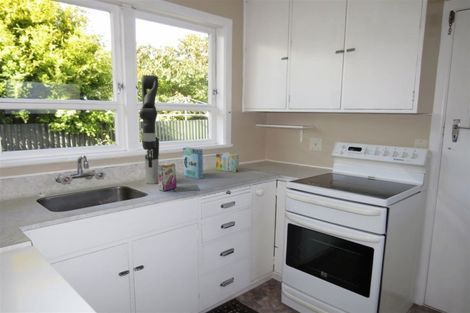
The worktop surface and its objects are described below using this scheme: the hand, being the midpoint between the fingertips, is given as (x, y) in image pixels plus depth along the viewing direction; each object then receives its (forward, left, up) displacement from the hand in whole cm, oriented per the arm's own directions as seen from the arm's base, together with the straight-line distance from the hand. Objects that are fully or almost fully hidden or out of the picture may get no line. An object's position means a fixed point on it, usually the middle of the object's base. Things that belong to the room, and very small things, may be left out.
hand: (150, 167), depth 195 cm
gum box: (-39, +32, -16) cm, 53 cm away
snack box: (-60, +65, -16) cm, 90 cm away
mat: (-2, +23, -15) cm, 28 cm away
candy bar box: (-1, +11, -15) cm, 19 cm away
